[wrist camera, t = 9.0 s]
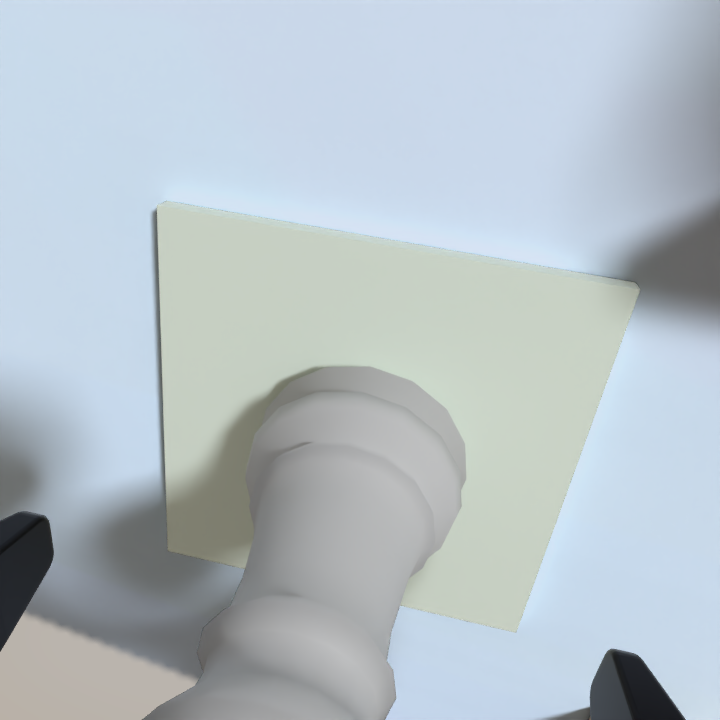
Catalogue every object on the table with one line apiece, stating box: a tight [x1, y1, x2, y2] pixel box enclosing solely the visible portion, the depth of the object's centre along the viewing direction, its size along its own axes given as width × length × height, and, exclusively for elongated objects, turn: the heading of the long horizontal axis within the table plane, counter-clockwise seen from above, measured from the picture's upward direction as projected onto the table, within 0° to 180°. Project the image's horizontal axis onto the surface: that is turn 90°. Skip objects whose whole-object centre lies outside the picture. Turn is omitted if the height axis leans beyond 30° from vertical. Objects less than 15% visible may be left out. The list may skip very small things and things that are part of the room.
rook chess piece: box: [142, 366, 466, 720], centre depth 10 cm, size 4×4×8 cm
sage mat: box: [157, 201, 640, 633], centre depth 13 cm, size 9×9×1 cm
